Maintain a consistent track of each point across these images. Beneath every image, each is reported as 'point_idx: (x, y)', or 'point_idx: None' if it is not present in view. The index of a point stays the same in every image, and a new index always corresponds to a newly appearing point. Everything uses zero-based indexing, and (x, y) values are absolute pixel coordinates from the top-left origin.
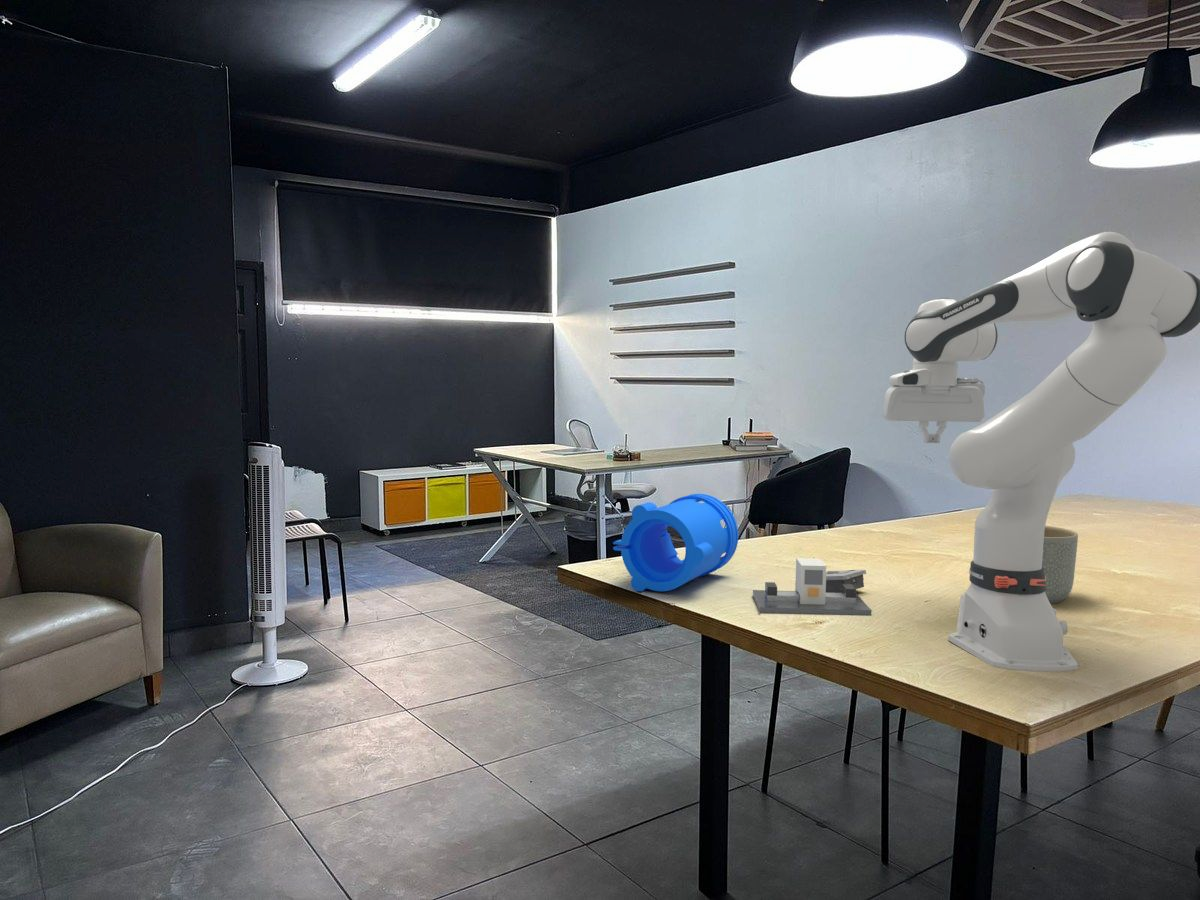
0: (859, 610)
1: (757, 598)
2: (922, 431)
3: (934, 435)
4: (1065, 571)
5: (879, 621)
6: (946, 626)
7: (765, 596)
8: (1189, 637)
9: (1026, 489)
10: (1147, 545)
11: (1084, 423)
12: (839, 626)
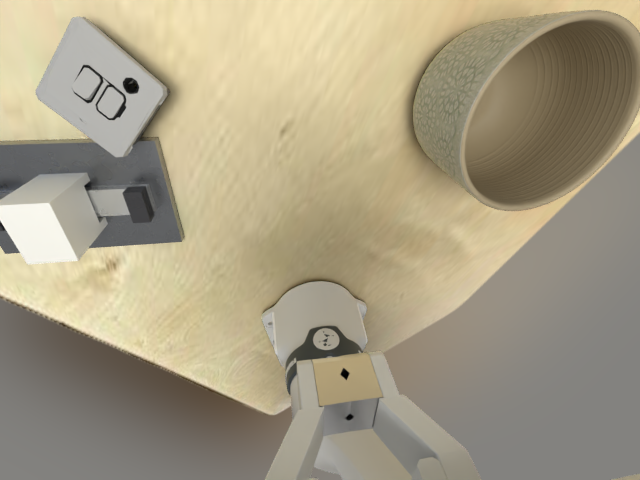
0: (164, 242)
1: None
2: (288, 440)
3: (354, 426)
4: (509, 173)
5: (195, 248)
6: (278, 253)
7: None
8: (520, 246)
9: None
10: None
11: None
12: (141, 275)
